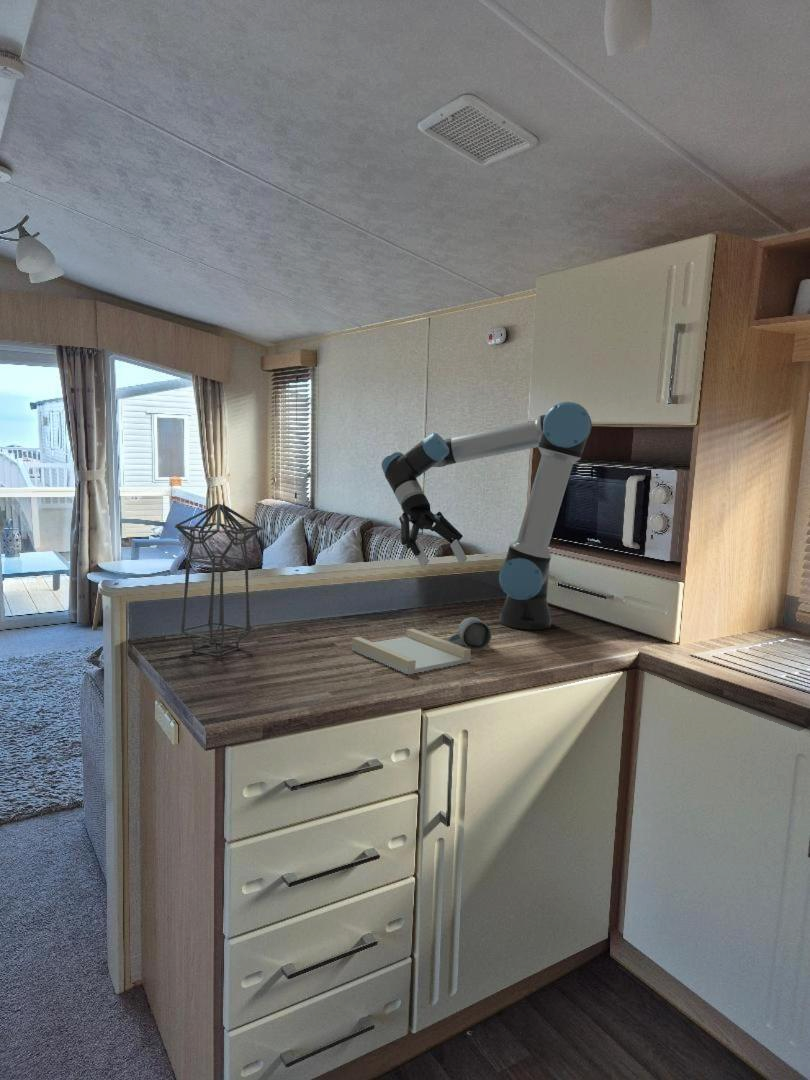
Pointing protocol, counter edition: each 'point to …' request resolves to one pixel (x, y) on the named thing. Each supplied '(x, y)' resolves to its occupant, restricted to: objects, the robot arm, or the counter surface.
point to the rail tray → (413, 652)
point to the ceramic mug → (472, 634)
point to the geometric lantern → (227, 532)
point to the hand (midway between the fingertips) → (445, 563)
